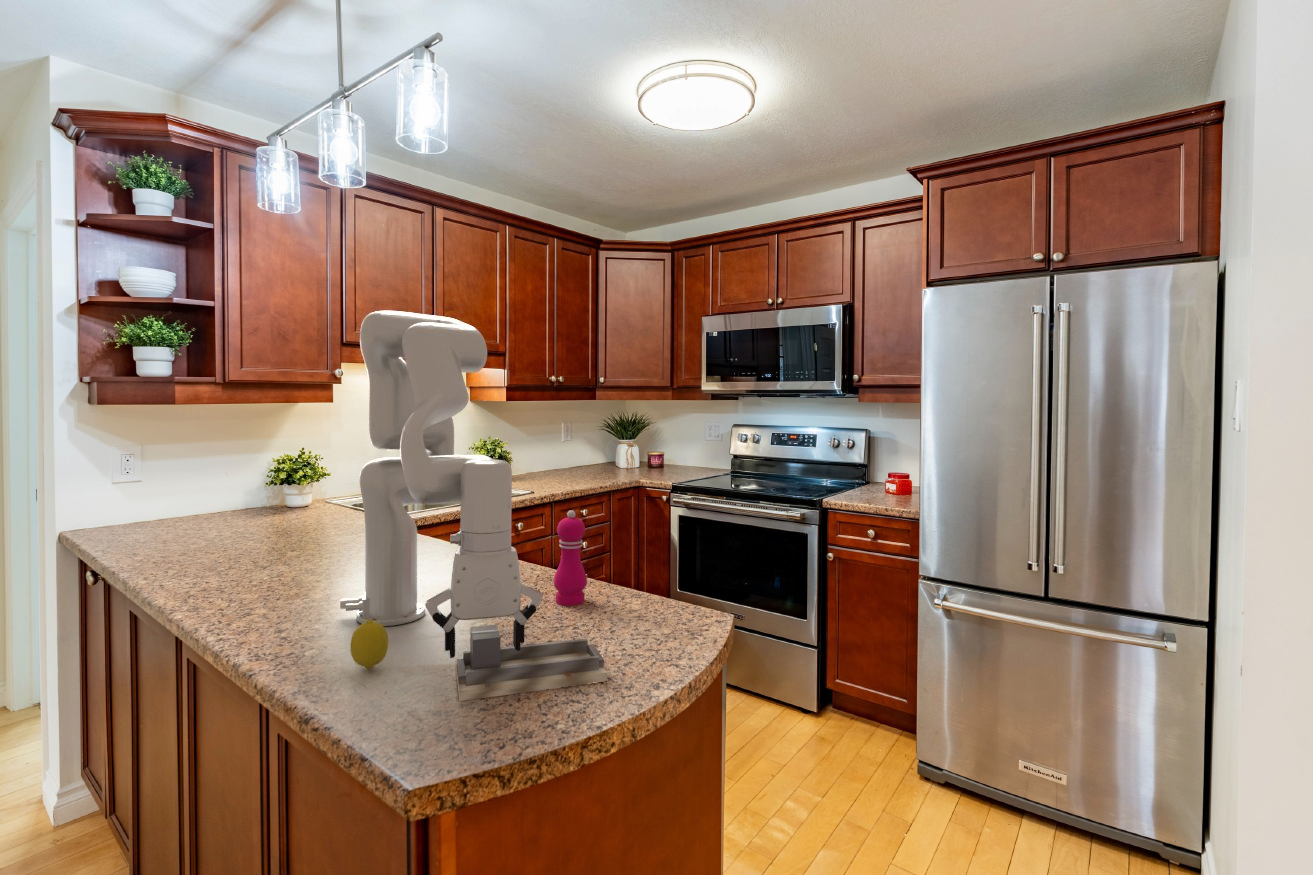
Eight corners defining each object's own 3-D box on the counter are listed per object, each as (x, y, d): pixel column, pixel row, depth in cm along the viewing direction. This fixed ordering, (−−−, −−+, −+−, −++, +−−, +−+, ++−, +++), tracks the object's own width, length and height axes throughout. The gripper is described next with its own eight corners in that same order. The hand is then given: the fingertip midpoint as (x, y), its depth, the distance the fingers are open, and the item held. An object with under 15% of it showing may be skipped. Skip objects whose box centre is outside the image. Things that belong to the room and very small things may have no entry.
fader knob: (472, 679, 95) (472, 639, 95) (470, 664, 101) (470, 626, 100) (500, 676, 97) (500, 636, 96) (496, 661, 102) (496, 623, 102)
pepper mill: (580, 607, 135) (582, 513, 134) (548, 605, 137) (549, 512, 136) (590, 597, 143) (592, 508, 142) (560, 595, 144) (561, 506, 143)
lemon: (358, 662, 105) (358, 614, 105) (393, 662, 105) (393, 614, 105) (344, 676, 99) (344, 626, 99) (381, 676, 100) (381, 625, 100)
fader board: (459, 700, 92) (459, 677, 92) (456, 670, 103) (456, 649, 102) (607, 681, 100) (607, 659, 100) (590, 655, 110) (590, 635, 110)
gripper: (425, 549, 91) (425, 667, 92) (547, 542, 97) (545, 653, 98) (425, 538, 98) (425, 648, 99) (538, 533, 104) (537, 636, 105)
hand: (485, 650), depth 99 cm, fingers open, 9 cm apart
